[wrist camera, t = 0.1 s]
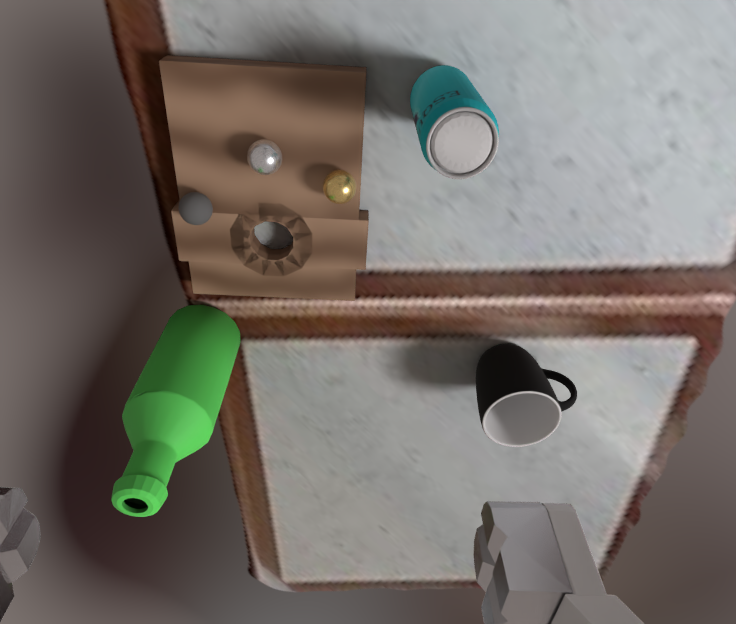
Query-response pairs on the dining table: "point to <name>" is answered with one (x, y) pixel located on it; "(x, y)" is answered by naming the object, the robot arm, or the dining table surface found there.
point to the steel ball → (264, 157)
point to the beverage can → (453, 123)
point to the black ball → (195, 208)
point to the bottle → (175, 403)
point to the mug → (518, 397)
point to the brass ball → (339, 186)
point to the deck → (267, 192)
